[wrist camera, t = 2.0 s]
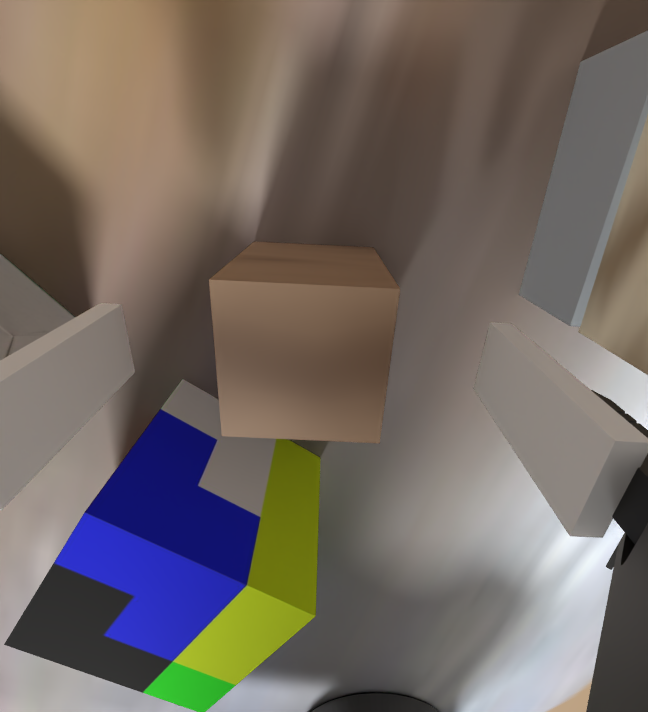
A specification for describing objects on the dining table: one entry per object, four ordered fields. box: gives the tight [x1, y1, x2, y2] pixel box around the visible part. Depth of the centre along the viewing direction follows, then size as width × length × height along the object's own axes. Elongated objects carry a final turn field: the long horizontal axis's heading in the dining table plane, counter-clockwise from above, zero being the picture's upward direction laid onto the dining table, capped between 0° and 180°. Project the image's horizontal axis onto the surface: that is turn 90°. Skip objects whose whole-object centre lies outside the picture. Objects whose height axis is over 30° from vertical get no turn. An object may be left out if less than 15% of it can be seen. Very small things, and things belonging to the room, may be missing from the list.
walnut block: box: [209, 242, 400, 443], centre depth 17 cm, size 6×6×8 cm
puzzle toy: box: [4, 379, 321, 712], centre depth 21 cm, size 10×10×10 cm
